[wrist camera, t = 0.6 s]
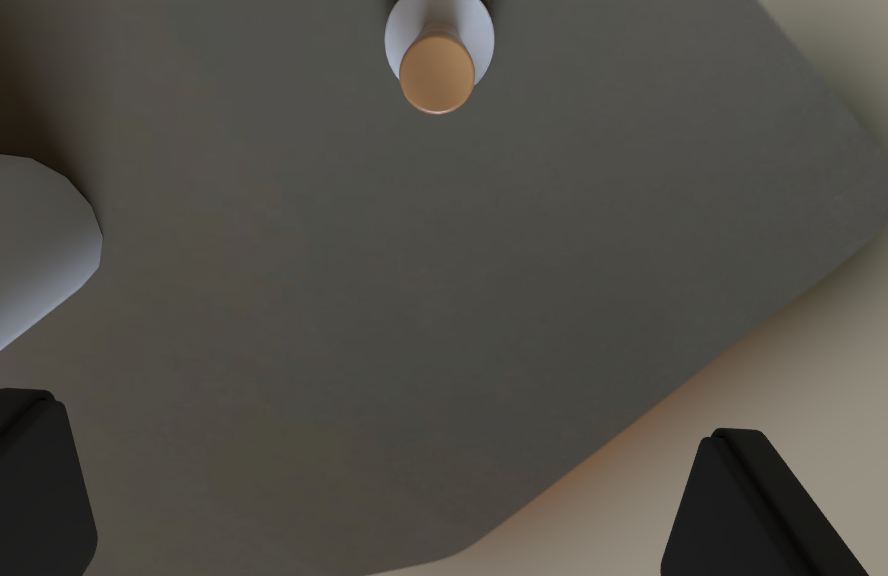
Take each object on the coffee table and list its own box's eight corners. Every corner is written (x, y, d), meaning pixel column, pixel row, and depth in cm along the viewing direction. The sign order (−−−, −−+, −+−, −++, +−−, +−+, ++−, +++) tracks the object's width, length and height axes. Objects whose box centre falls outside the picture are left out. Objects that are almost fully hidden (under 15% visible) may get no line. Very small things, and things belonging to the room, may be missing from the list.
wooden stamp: (459, -41, 28) (480, -95, 13) (508, 59, 30) (577, 116, 14) (369, 18, 29) (287, 32, 14) (421, 110, 31) (401, 214, 15)
